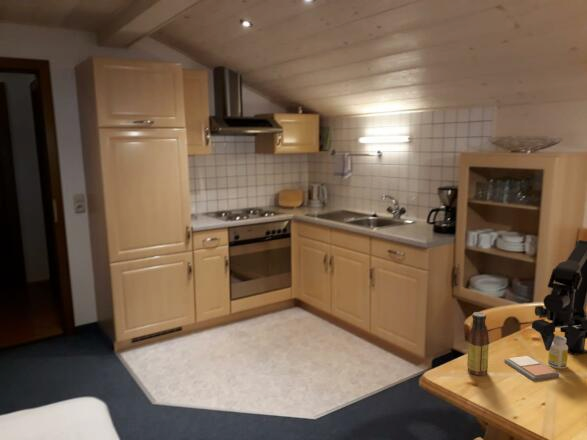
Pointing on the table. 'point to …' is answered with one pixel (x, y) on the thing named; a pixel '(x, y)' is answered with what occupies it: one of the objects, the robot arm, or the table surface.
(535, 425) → the table surface
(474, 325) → the sauce bottle
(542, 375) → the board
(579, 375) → the table surface
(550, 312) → the robot arm
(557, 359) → the supplement bottle
